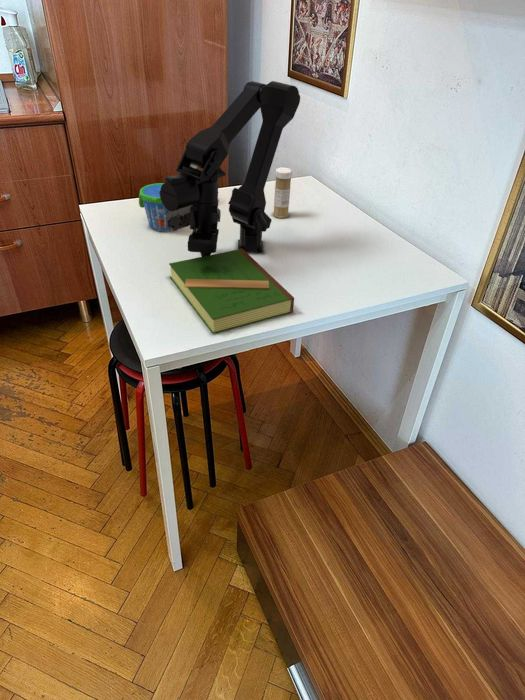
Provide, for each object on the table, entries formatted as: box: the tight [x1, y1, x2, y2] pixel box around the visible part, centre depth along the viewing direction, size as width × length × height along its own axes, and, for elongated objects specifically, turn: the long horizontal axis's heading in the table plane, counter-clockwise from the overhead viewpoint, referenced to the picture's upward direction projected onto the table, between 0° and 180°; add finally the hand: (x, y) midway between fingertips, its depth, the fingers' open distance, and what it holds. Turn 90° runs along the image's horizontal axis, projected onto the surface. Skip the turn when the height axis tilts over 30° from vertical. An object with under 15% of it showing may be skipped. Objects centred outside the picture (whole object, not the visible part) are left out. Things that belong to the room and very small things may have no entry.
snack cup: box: [138, 182, 171, 232], centre depth 136 cm, size 16×10×10 cm
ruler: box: [185, 279, 269, 289], centre depth 109 cm, size 3×18×1 cm, turn 92°
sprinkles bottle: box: [272, 166, 293, 219], centre depth 144 cm, size 5×5×13 cm
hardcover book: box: [168, 248, 295, 335], centre depth 112 cm, size 25×19×4 cm
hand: (205, 261), depth 122 cm, fingers closed
